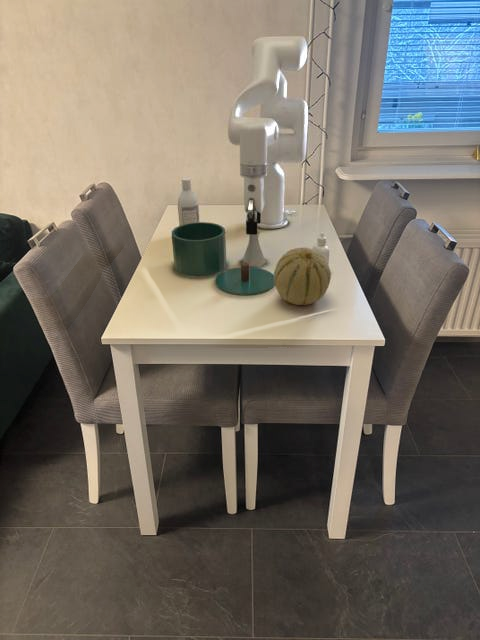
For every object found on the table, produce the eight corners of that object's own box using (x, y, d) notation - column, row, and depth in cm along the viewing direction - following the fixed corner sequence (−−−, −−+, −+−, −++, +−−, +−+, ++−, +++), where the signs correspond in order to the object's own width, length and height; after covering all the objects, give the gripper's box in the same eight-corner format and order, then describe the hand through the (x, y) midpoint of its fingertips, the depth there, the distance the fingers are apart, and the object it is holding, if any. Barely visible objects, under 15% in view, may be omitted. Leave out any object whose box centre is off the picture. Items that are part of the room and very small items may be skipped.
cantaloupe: (298, 283, 141) (300, 233, 133) (340, 301, 131) (345, 248, 124) (261, 301, 132) (261, 248, 124) (303, 321, 123) (306, 265, 115)
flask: (249, 269, 150) (248, 238, 144) (238, 261, 155) (237, 230, 150) (270, 264, 152) (270, 233, 147) (258, 256, 158) (258, 226, 153)
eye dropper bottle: (325, 267, 150) (328, 229, 144) (328, 275, 145) (331, 236, 139) (311, 267, 150) (313, 229, 144) (313, 275, 145) (315, 236, 139)
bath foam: (204, 236, 174) (200, 179, 164) (187, 241, 170) (183, 183, 160) (192, 231, 178) (188, 175, 168) (176, 236, 175) (171, 178, 164)
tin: (215, 253, 160) (214, 219, 155) (234, 272, 148) (233, 235, 142) (169, 262, 155) (165, 226, 150) (183, 282, 143) (180, 244, 137)
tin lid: (260, 266, 151) (260, 248, 148) (286, 290, 137) (287, 270, 134) (206, 276, 146) (205, 258, 143) (228, 302, 132) (227, 282, 129)
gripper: (264, 177, 131) (263, 239, 140) (269, 163, 146) (268, 219, 155) (235, 177, 132) (237, 238, 141) (243, 162, 147) (244, 219, 156)
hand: (253, 228), depth 148 cm, fingers open, 9 cm apart
